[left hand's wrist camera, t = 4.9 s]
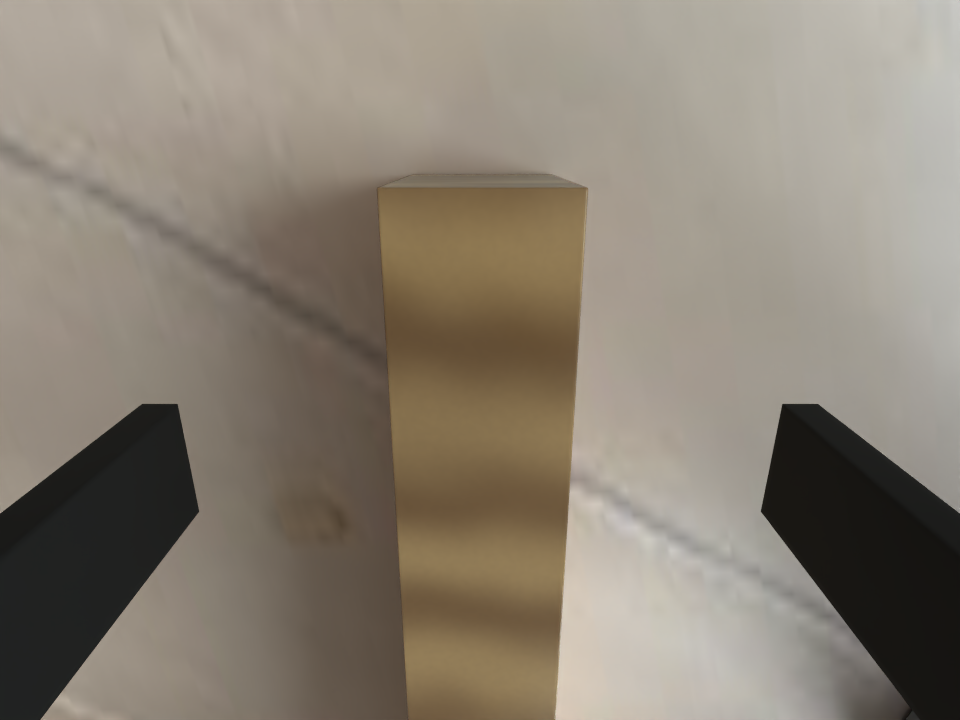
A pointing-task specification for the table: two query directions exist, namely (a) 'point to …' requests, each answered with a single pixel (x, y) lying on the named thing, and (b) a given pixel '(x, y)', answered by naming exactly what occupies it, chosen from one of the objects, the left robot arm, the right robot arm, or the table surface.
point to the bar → (482, 431)
